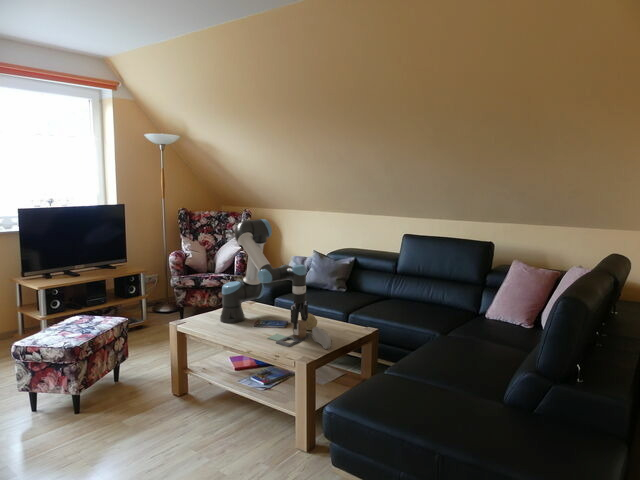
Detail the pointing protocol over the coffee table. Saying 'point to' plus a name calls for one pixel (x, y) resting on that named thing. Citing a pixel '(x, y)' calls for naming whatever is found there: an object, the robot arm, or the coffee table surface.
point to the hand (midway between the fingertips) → (299, 333)
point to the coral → (311, 322)
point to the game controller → (321, 337)
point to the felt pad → (277, 337)
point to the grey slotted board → (296, 340)
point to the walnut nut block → (300, 329)
